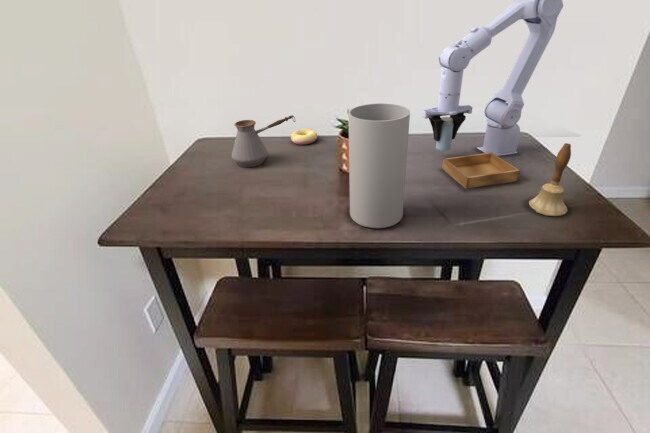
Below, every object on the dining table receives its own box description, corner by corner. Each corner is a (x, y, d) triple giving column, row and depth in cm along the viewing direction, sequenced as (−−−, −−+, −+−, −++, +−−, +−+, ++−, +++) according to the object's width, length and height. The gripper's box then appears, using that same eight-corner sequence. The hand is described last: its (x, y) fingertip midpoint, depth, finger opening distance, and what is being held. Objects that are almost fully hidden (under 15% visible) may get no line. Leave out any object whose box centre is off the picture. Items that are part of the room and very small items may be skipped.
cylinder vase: (389, 235, 84) (395, 124, 71) (340, 221, 90) (337, 116, 77) (410, 209, 93) (419, 107, 80) (364, 198, 99) (365, 101, 86)
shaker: (446, 144, 118) (449, 115, 113) (453, 149, 114) (457, 120, 110) (433, 146, 117) (436, 117, 113) (439, 151, 114) (443, 121, 109)
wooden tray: (489, 163, 113) (491, 152, 112) (517, 182, 102) (520, 170, 100) (442, 170, 111) (443, 158, 109) (465, 190, 100) (467, 178, 98)
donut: (289, 150, 136) (312, 148, 132) (285, 138, 133) (309, 136, 129) (299, 136, 143) (322, 134, 139) (295, 125, 140) (319, 123, 136)
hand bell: (563, 201, 93) (584, 138, 85) (570, 218, 86) (592, 152, 78) (526, 197, 95) (542, 136, 87) (529, 214, 89) (547, 149, 80)
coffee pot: (228, 169, 118) (219, 122, 111) (239, 155, 128) (231, 110, 120) (296, 169, 116) (291, 121, 108) (301, 155, 126) (298, 109, 118)
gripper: (432, 98, 103) (427, 146, 110) (481, 93, 105) (473, 140, 112) (421, 92, 109) (417, 138, 116) (467, 88, 111) (461, 133, 118)
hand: (444, 139), depth 114 cm, fingers closed on shaker, 4 cm apart
